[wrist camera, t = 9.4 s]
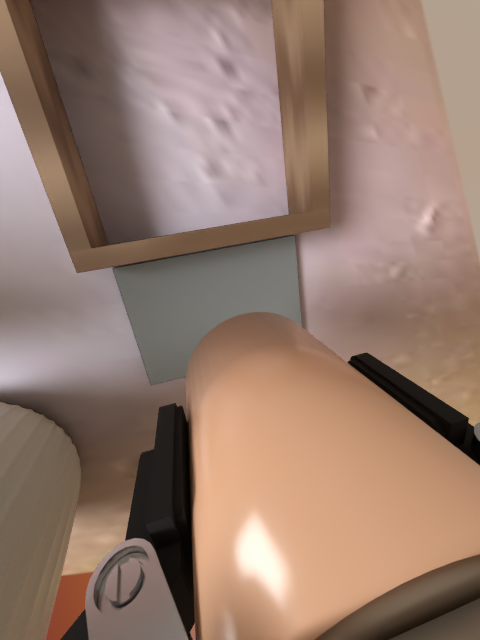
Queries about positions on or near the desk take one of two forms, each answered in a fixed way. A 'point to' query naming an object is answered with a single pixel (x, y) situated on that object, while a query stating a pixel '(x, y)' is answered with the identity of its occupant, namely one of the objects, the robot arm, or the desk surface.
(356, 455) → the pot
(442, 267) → the desk surface
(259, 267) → the mat
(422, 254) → the desk surface
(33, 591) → the canister
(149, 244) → the frame
